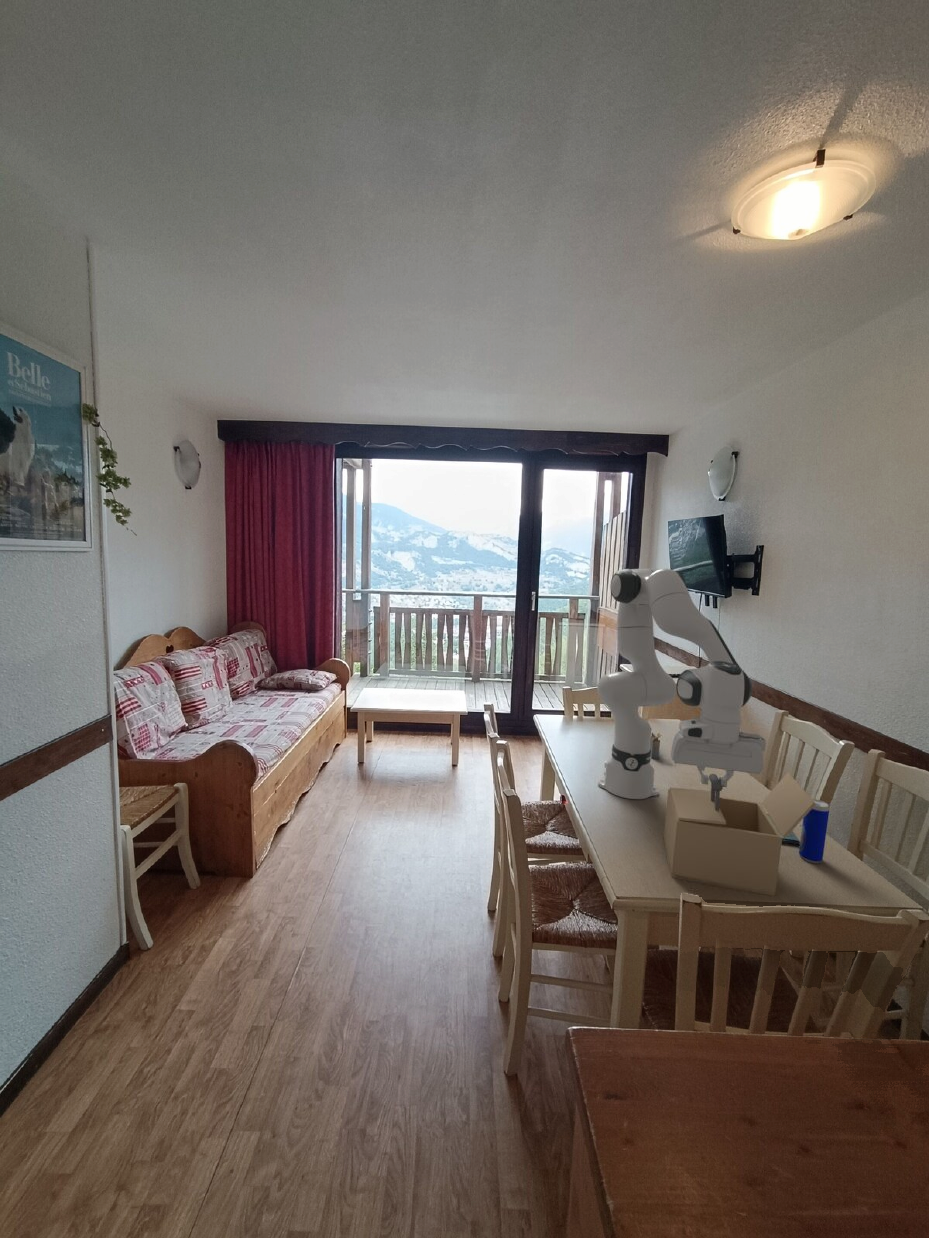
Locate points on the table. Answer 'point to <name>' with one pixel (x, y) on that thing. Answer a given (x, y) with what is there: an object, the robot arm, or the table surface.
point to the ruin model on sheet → (655, 746)
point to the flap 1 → (699, 803)
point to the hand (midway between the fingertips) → (713, 784)
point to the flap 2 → (787, 804)
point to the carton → (725, 847)
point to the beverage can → (814, 832)
